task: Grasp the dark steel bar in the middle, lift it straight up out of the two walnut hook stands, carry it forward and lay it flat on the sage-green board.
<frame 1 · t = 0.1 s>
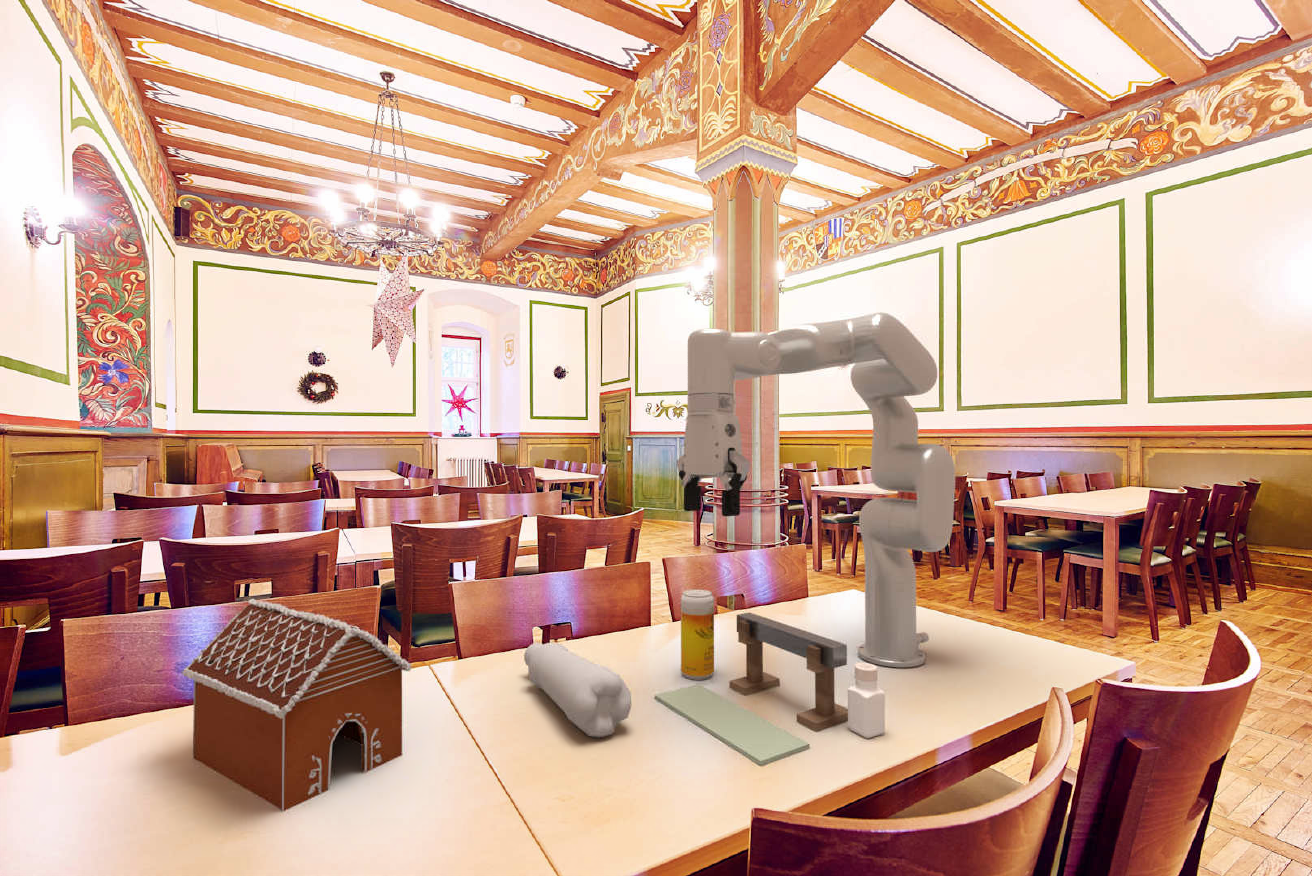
hand: (710, 513, 100), 31 cm above the table, fingers open, 9 cm apart
rack: (787, 702, 101), on the table
board: (725, 721, 94), on the table
rail: (787, 646, 101), point 9 cm above the table, touching rack
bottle: (570, 705, 101), on the table
gingerbread house: (297, 758, 83), on the table
salt shaker: (866, 733, 91), on the table
beer can: (697, 675, 114), on the table
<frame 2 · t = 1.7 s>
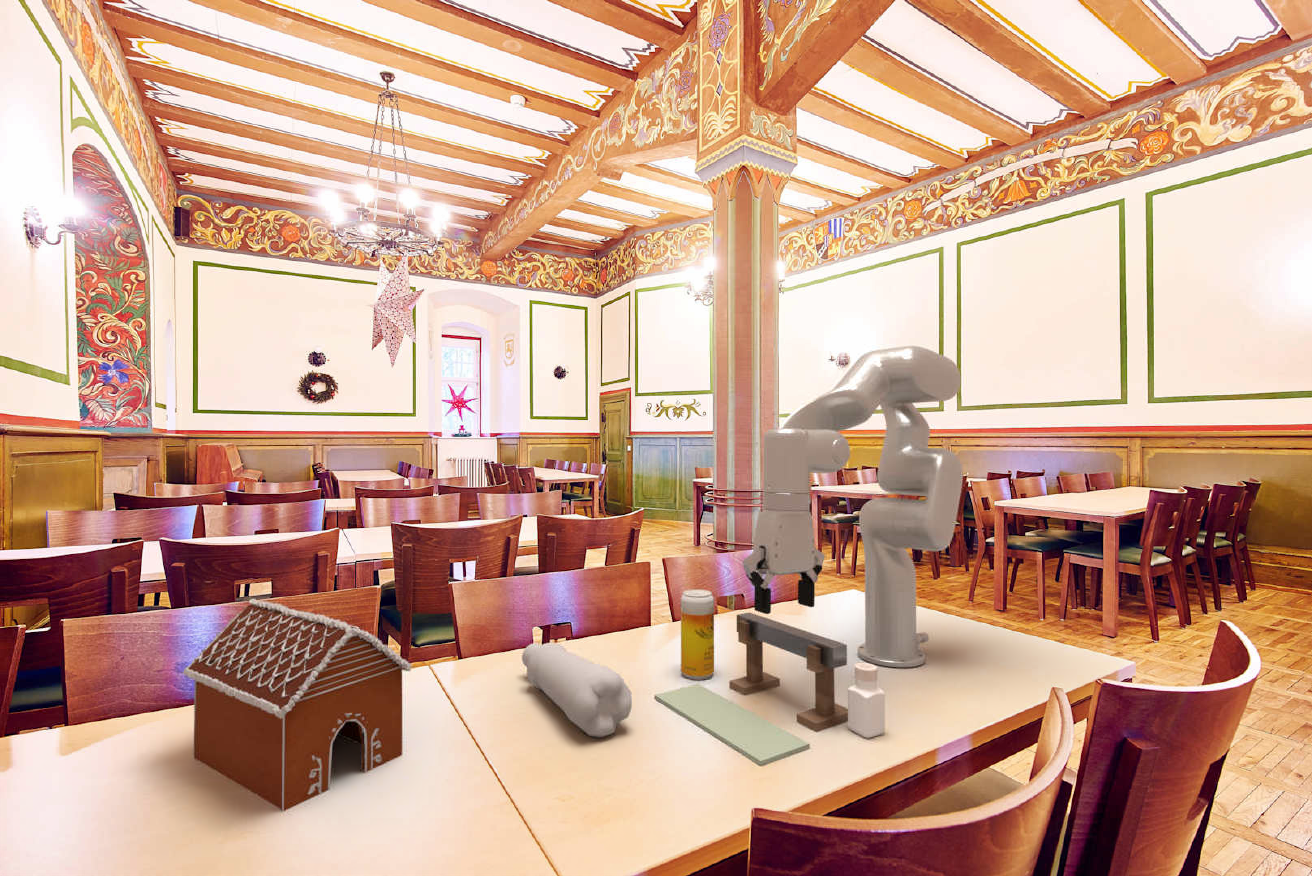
hand: (784, 608, 101), 15 cm above the table, fingers open, 9 cm apart
nothing on the table moved.
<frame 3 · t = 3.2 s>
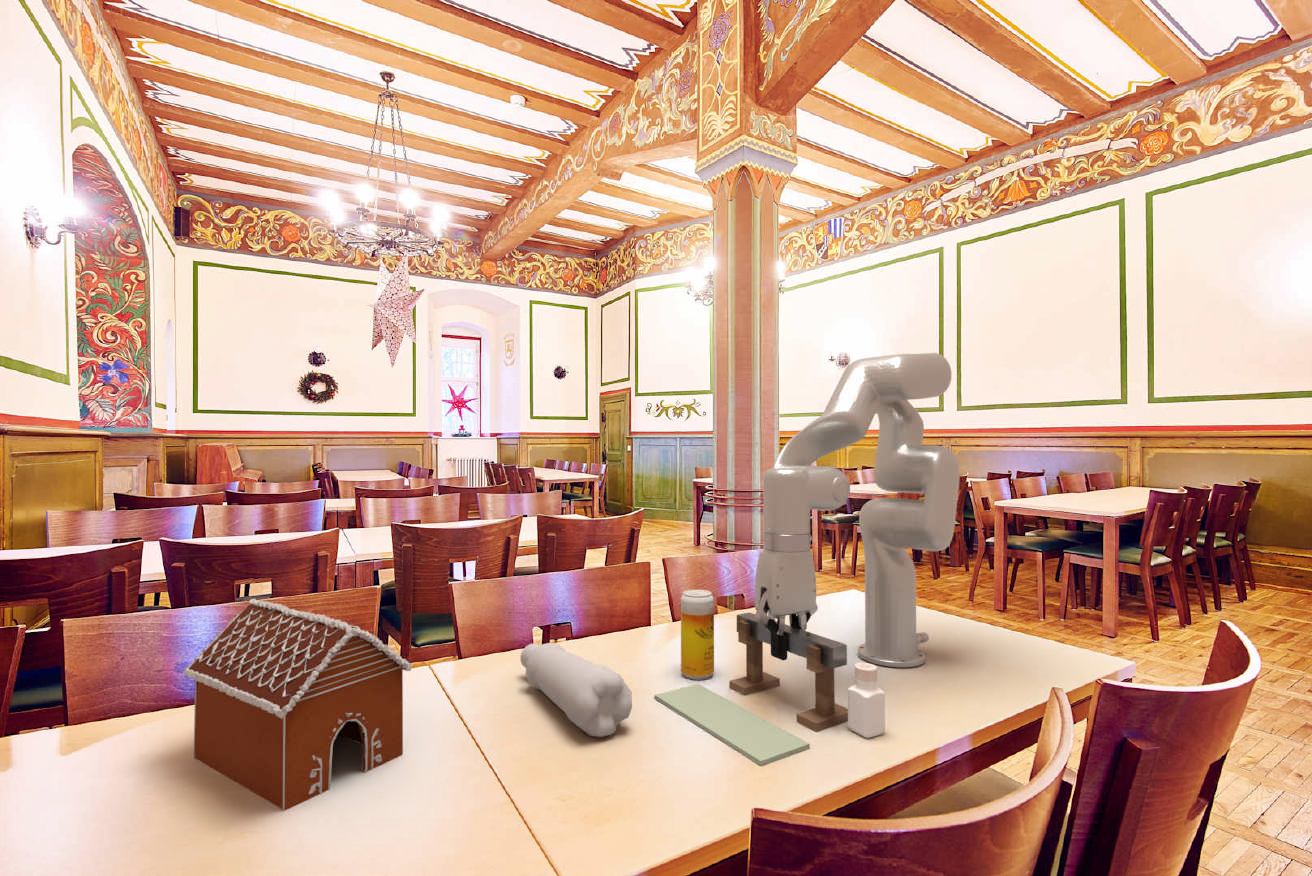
hand: (787, 654, 101), 8 cm above the table, fingers closed on rail, 3 cm apart
rail: (787, 646, 101), point 9 cm above the table, touching gripper, rack
everything else where it was.
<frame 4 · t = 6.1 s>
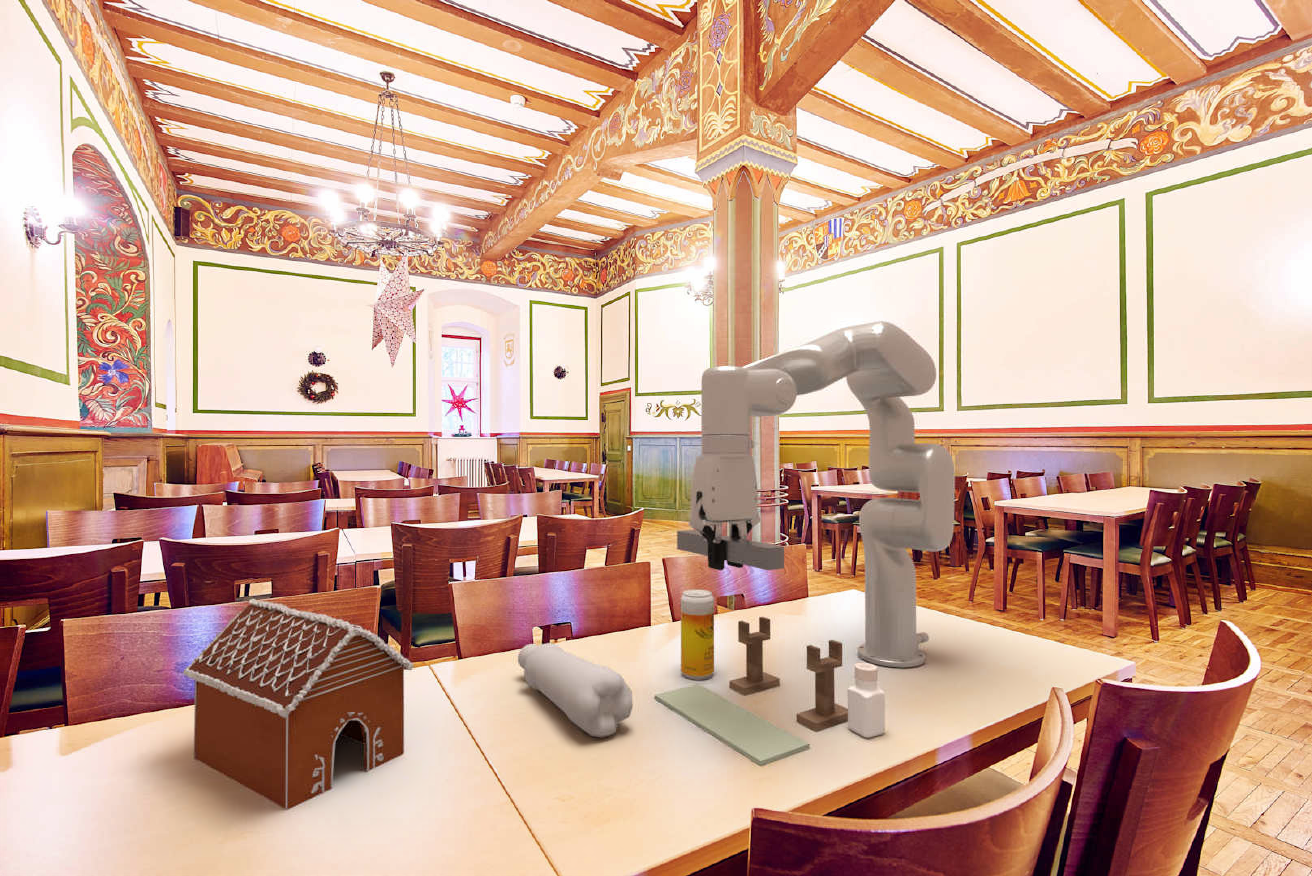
hand: (725, 566, 95), 23 cm above the table, fingers closed on rail, 3 cm apart
rail: (725, 557, 95), point 25 cm above the table, touching gripper
everything else where it was.
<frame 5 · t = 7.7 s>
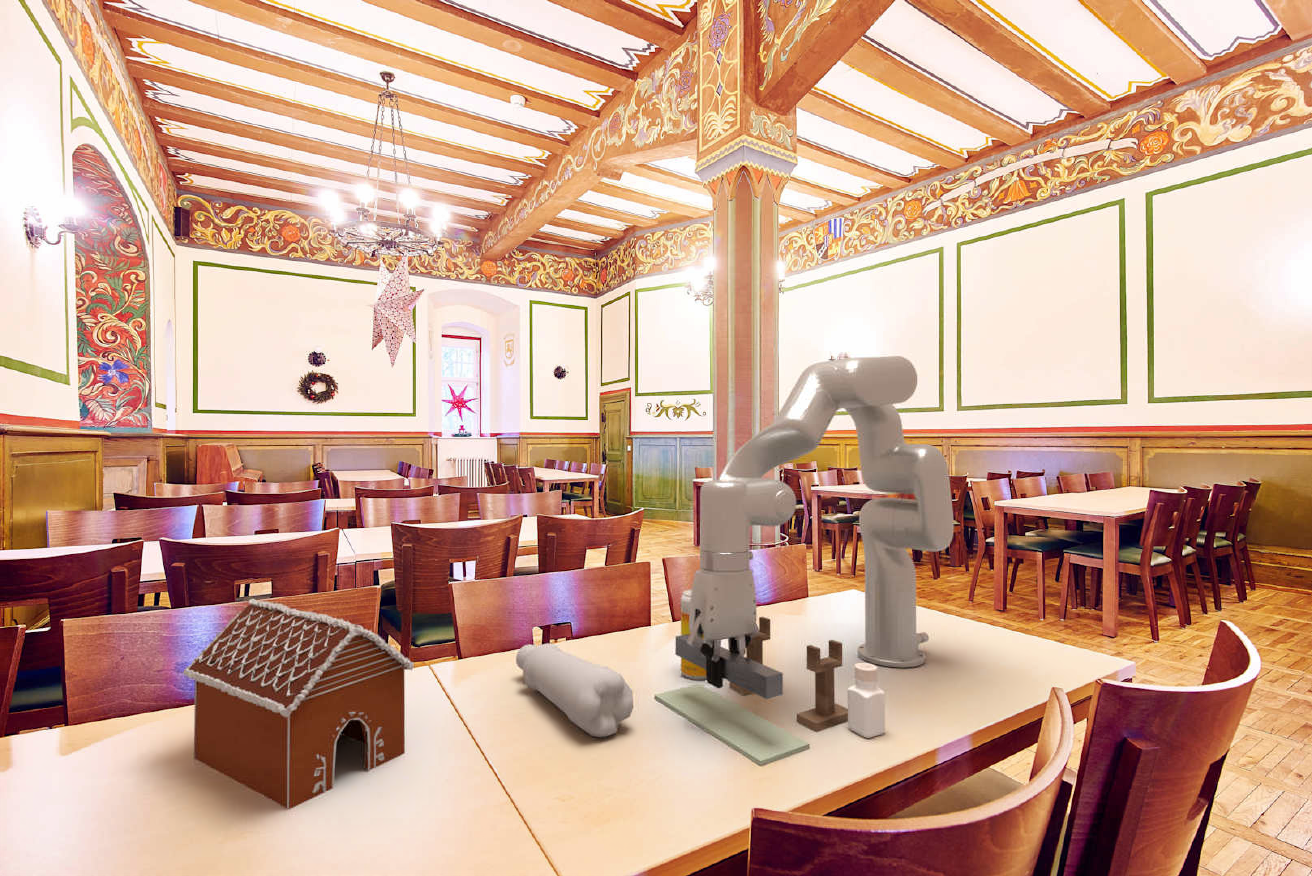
hand: (724, 681, 94), 6 cm above the table, fingers closed on rail, 3 cm apart
rail: (724, 672, 94), point 7 cm above the table, touching gripper
everything else where it was.
when the fingers open (1 cm above the table, at t = 9.0 s): rail drops 2 cm, resting on board.
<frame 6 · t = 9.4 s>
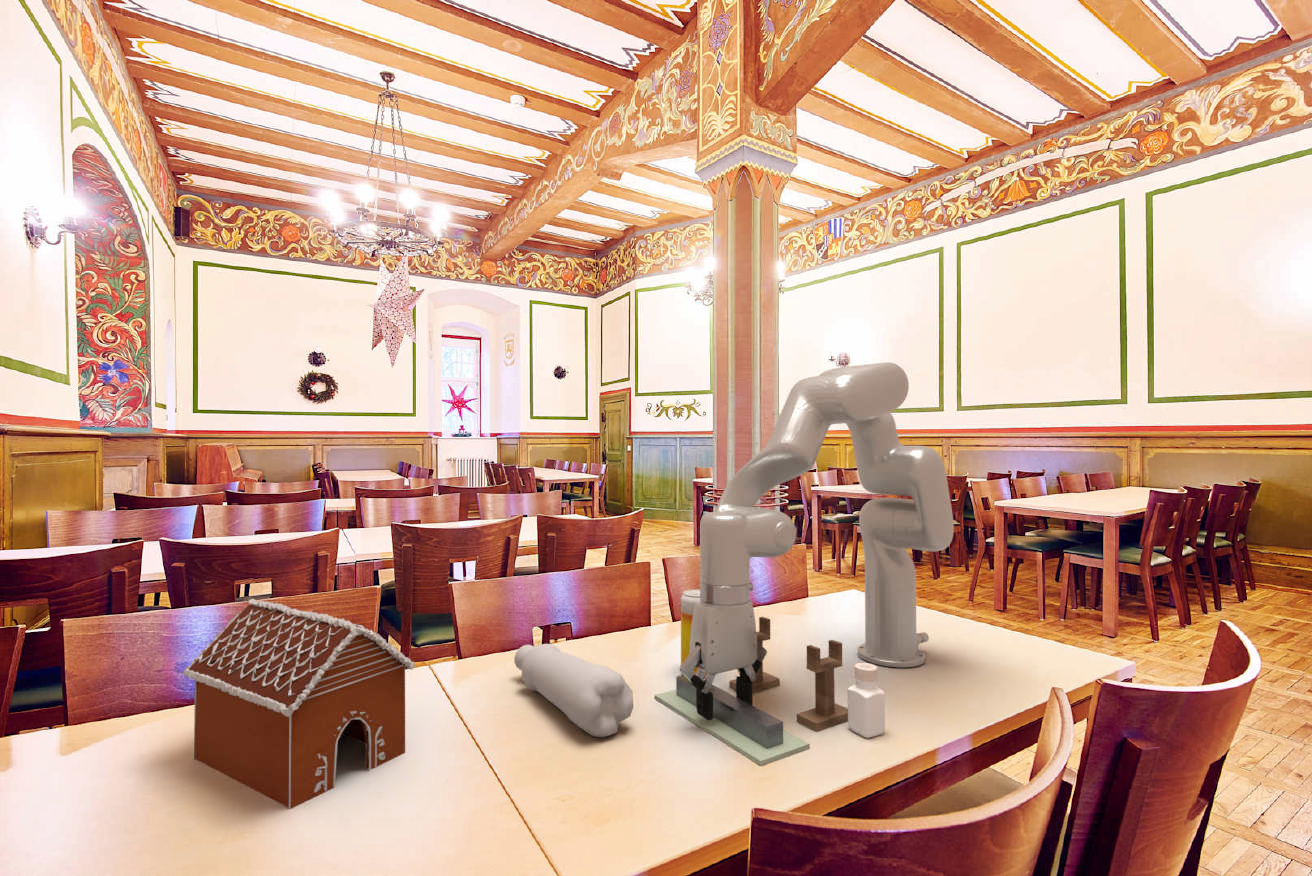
hand: (725, 710, 94), 2 cm above the table, fingers open, 7 cm apart
rail: (725, 717, 94), point 1 cm above the table, touching board
everything else where it was.
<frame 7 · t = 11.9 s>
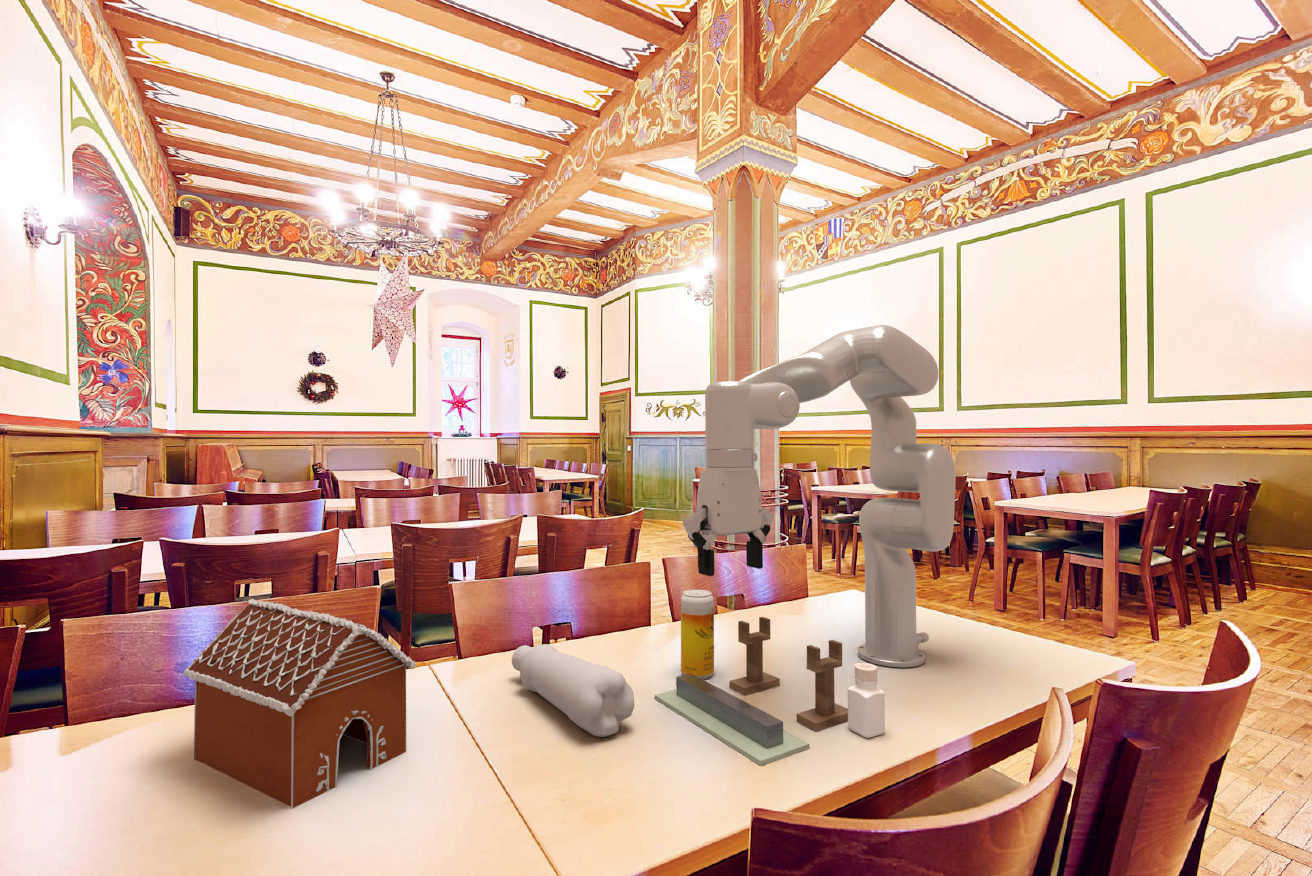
hand: (731, 570, 96), 22 cm above the table, fingers open, 9 cm apart
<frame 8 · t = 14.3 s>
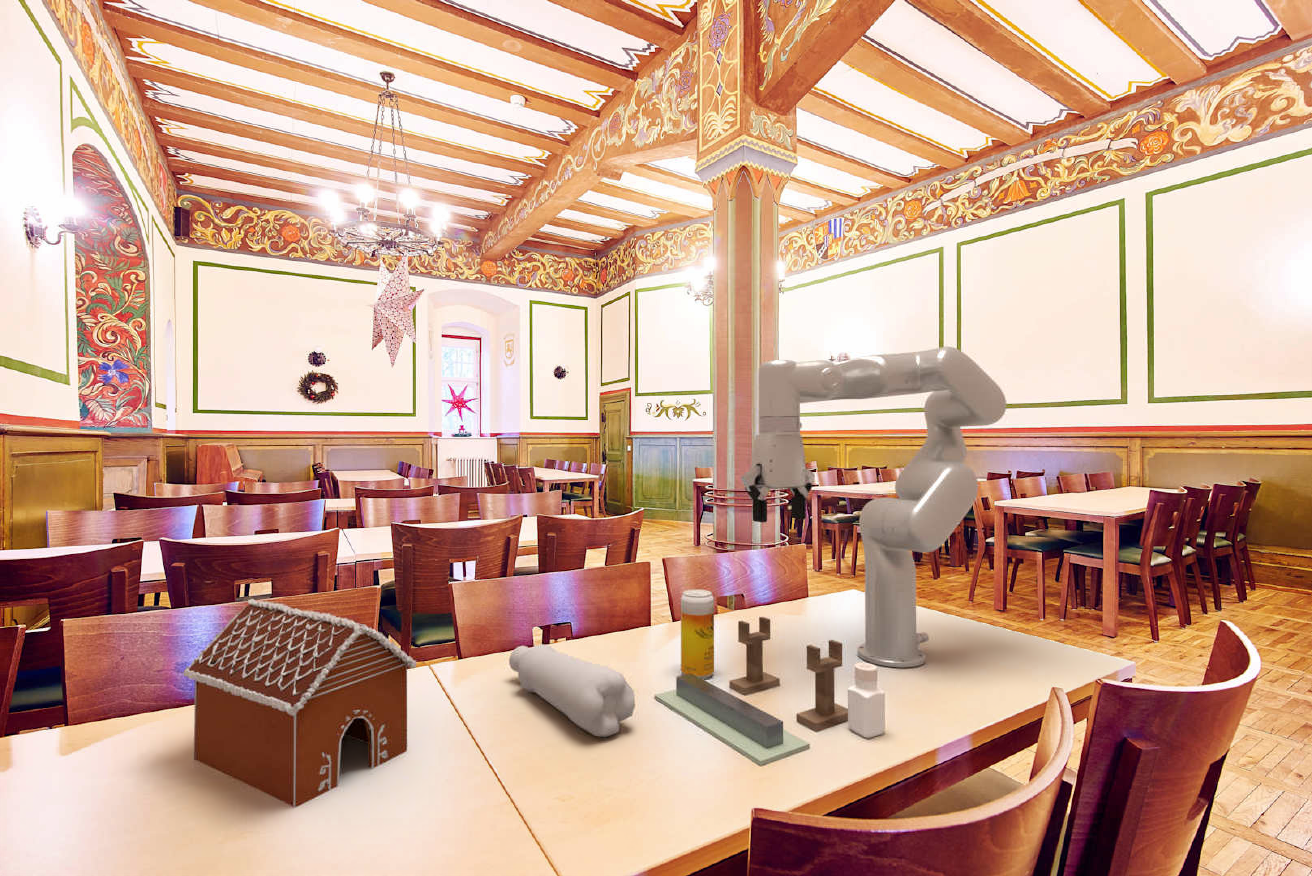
hand: (779, 520, 114), 28 cm above the table, fingers open, 9 cm apart
at the end: rail 0.0 cm off-centre on the board, point 0.6 cm above the board's base; rail tilted 0°; the gripper is holding nothing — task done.
